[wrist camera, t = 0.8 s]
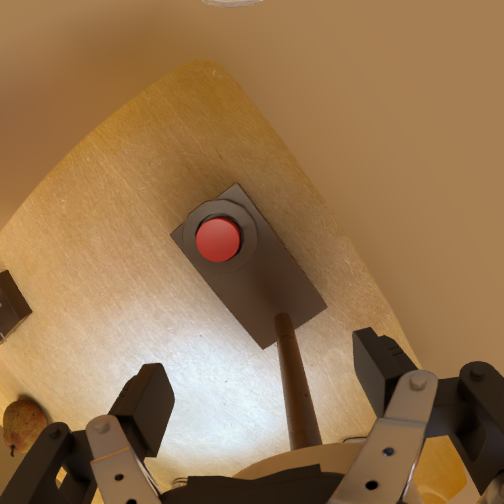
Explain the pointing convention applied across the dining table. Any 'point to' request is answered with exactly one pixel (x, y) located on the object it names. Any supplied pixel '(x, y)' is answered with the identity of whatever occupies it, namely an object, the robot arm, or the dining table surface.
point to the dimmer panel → (11, 306)
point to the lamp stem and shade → (305, 421)
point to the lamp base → (251, 268)
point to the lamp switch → (218, 239)
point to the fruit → (22, 425)
